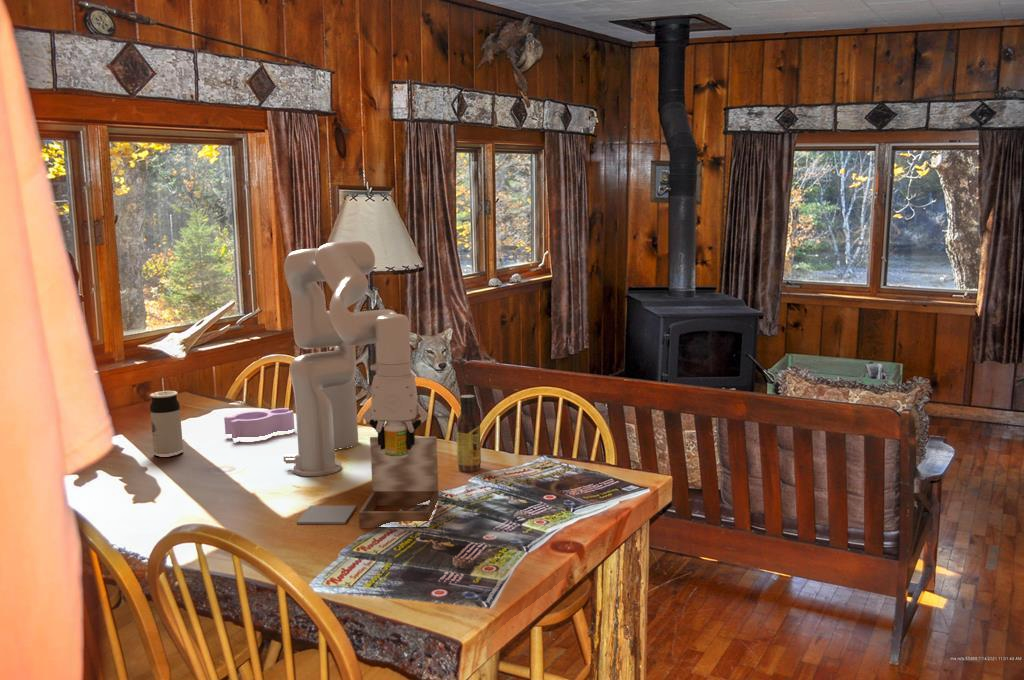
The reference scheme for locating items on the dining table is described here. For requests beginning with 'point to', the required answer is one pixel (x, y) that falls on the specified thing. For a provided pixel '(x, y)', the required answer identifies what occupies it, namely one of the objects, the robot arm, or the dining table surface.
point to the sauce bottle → (468, 436)
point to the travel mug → (166, 422)
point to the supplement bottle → (396, 439)
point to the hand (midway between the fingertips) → (396, 447)
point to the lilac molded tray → (259, 422)
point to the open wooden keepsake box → (402, 483)
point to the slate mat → (326, 515)
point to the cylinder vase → (344, 414)
